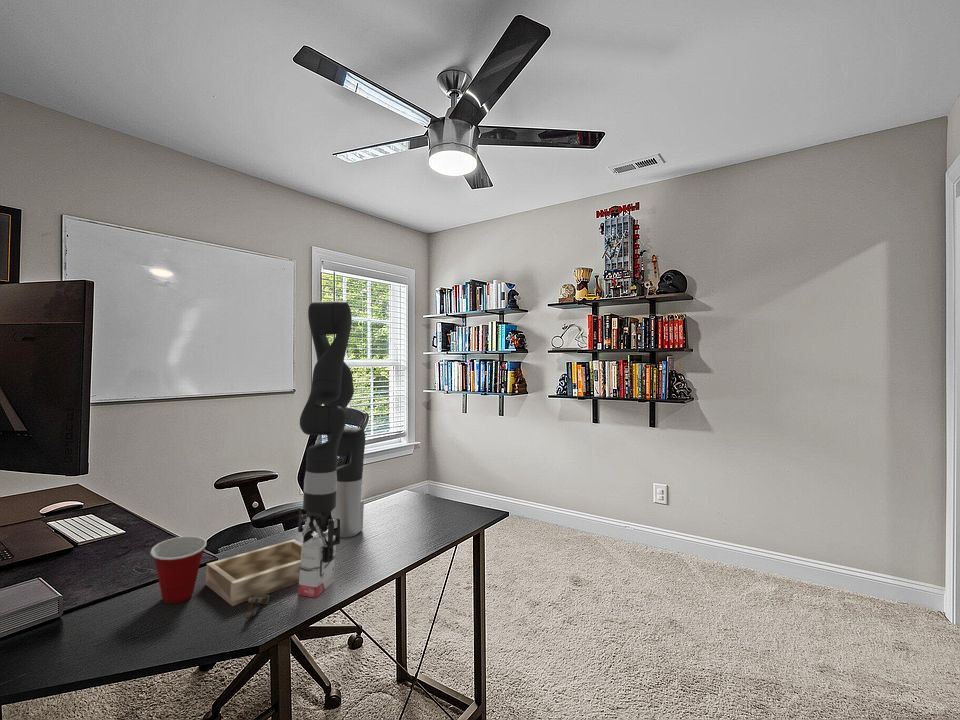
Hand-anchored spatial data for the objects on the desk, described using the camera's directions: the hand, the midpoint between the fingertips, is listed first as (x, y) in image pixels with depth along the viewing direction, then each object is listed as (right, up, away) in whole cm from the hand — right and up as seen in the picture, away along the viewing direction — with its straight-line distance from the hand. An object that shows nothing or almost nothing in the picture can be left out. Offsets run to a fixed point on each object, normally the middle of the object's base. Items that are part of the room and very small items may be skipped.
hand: (317, 556), depth 117 cm
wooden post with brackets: (-9, -8, -11) cm, 16 cm away
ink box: (0, -8, 0) cm, 8 cm away
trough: (-14, -7, +4) cm, 16 cm away
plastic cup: (-29, -7, -7) cm, 31 cm away
